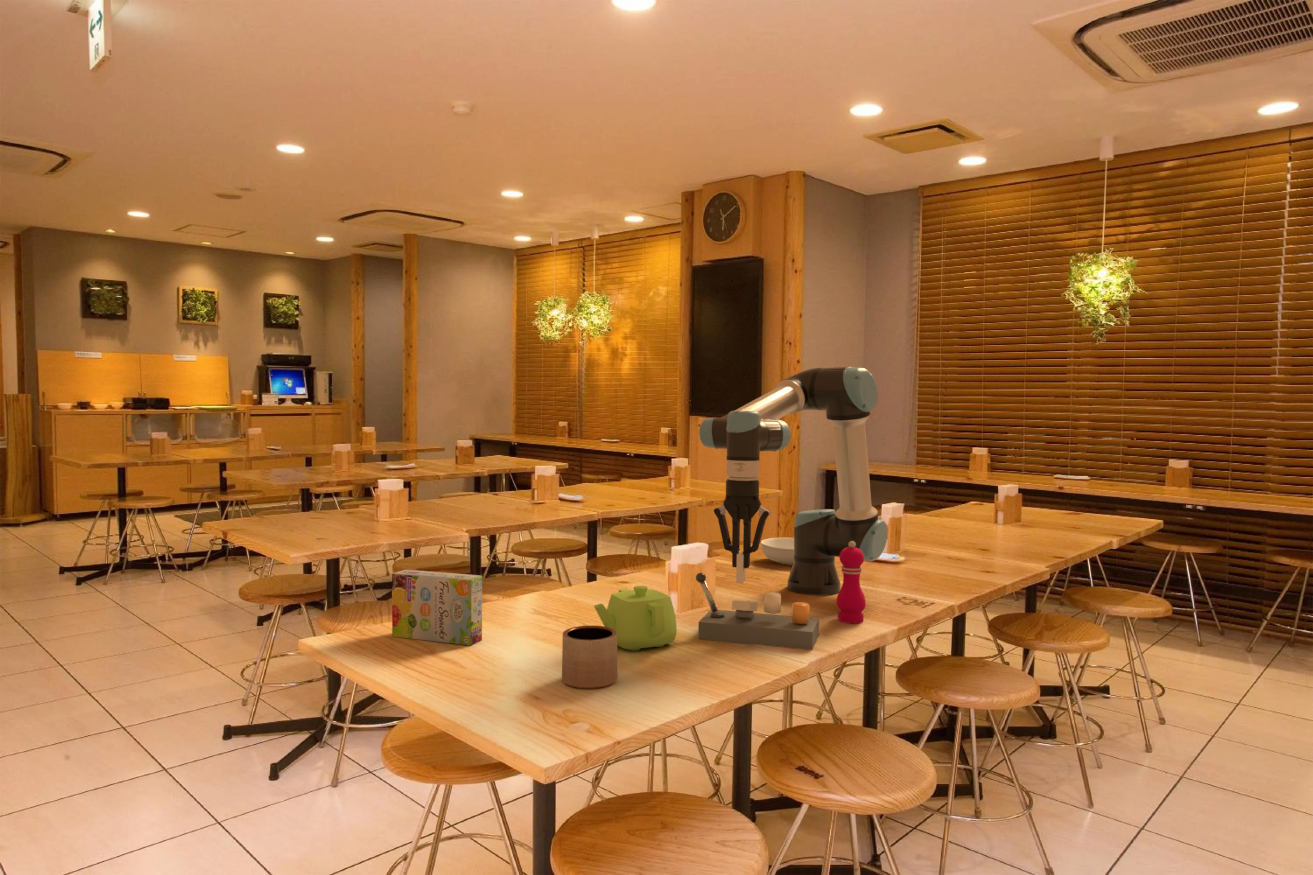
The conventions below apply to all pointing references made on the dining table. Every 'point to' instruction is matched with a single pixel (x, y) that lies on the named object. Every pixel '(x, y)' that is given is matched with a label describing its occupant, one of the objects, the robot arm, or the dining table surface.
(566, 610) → the dining table surface
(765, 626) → the console
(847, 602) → the pepper mill
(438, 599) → the snack box
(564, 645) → the planter
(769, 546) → the serving bowl
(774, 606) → the button cream
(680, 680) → the dining table surface
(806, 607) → the button orange
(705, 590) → the lever
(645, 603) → the teapot
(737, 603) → the rocker
